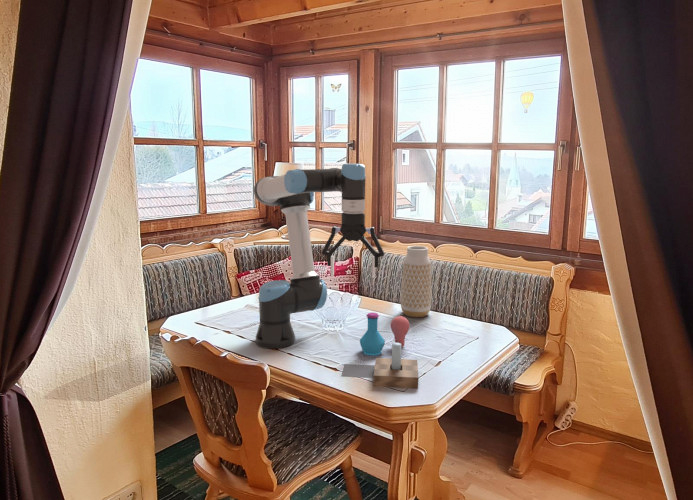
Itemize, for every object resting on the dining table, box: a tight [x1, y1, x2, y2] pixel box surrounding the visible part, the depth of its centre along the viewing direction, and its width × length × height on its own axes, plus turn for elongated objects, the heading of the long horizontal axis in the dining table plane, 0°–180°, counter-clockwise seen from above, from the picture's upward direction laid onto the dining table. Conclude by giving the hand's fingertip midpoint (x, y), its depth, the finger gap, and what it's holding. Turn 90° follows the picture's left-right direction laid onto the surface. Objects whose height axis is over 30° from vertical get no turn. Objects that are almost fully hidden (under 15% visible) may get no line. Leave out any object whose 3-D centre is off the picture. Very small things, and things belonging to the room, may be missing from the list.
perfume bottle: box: [359, 312, 386, 356], centre depth 194 cm, size 9×9×15 cm
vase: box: [400, 245, 432, 318], centre depth 236 cm, size 14×14×31 cm
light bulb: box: [390, 315, 411, 348], centre depth 200 cm, size 7×7×12 cm
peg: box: [391, 342, 402, 370], centre depth 173 cm, size 3×3×12 cm
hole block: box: [373, 357, 419, 389], centre depth 174 cm, size 14×14×4 cm
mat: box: [340, 363, 375, 379], centre depth 179 cm, size 12×10×1 cm
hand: (352, 276), depth 175 cm, fingers open, 13 cm apart
